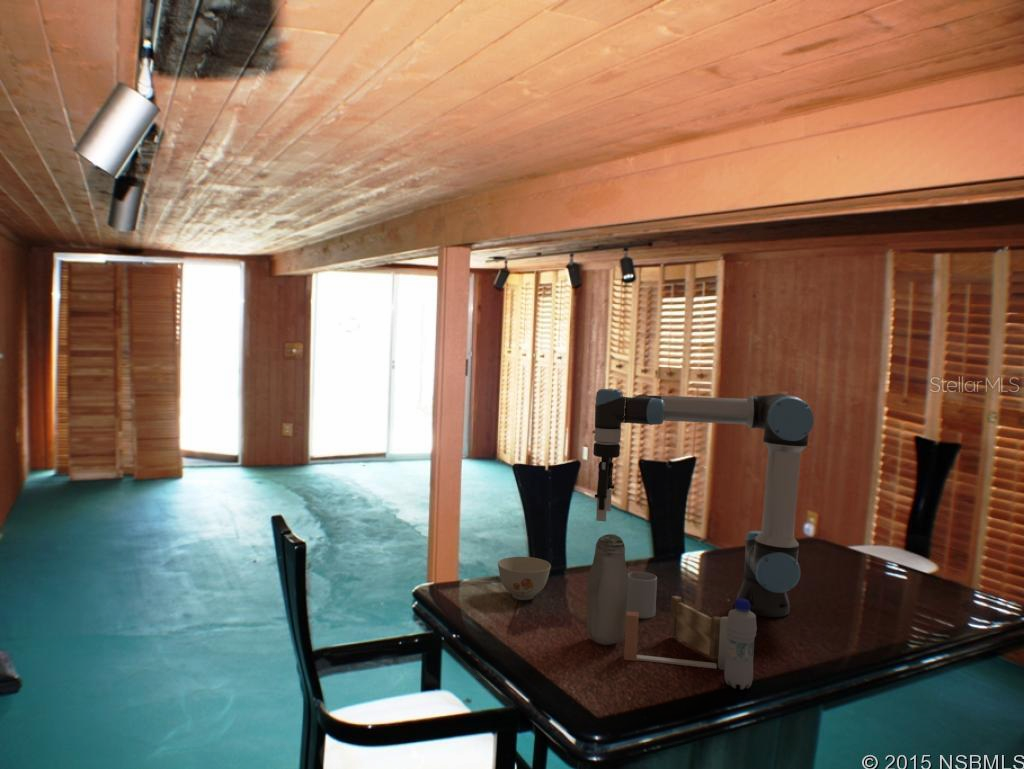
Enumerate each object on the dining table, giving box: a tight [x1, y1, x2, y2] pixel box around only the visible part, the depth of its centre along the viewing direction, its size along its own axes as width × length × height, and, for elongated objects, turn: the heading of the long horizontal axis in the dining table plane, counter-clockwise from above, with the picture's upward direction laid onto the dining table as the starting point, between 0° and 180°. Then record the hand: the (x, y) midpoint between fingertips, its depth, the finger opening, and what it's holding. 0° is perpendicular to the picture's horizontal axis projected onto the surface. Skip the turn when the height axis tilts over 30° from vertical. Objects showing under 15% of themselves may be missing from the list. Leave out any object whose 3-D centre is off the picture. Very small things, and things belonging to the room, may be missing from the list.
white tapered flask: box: [585, 533, 629, 646], centre depth 194 cm, size 10×10×28 cm
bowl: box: [497, 556, 552, 601], centre depth 227 cm, size 16×16×10 cm
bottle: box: [723, 598, 758, 690], centre depth 172 cm, size 7×7×20 cm
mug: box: [627, 571, 658, 619], centre depth 218 cm, size 12×8×11 cm
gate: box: [669, 595, 721, 660], centre depth 192 cm, size 18×2×10 cm, turn 25°
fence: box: [623, 611, 728, 671], centre depth 183 cm, size 26×3×12 cm, turn 80°
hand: (603, 515), depth 218 cm, fingers open, 13 cm apart
